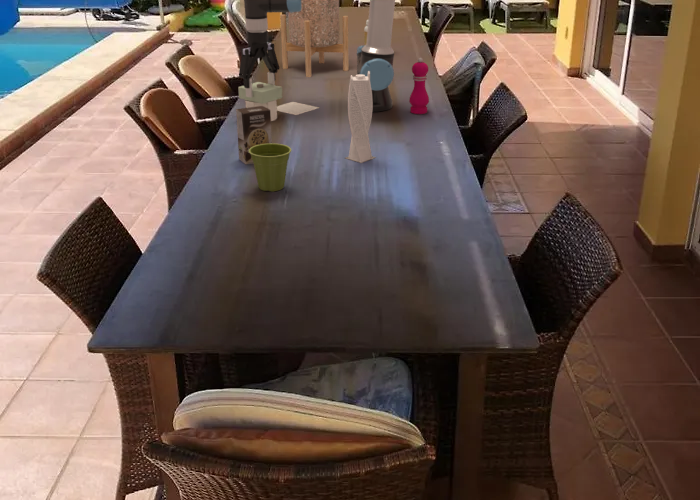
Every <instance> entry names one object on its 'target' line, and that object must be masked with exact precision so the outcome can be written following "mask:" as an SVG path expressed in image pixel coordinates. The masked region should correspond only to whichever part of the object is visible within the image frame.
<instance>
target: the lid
mask: <svg viewBox="0 0 700 500" xmlns="http://www.w3.org/2000/svg"><path fill="white" fill-rule="evenodd" d="M252 92H253V97H252V98H251V97H246V89H245V87H244V85H241V86H238V99H241V100H249V101H254V102H258V103H262V104H263V103H266V102H270V101H273V100H276V101H277V100H280V99H283V86H279V85H276V84H275V85H271V84H268V83H265V82H261V81H256V82H252Z"/></svg>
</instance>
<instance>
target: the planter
mask: <svg viewBox="0 0 700 500" xmlns="http://www.w3.org/2000/svg"><path fill="white" fill-rule="evenodd" d="M301 8H302V9H301V11H300V12H293V13H291V12H288V28H289V29H288V30H289V42H288V35H287V34H288V33H287V32H288V31H287V15H286V14H280V34H281V35H280V36H281V37H280V40H281V41H280V42H281V61H282V62H281V64H282V69H283V70H288V69H289V57H288V55H289V54H288V52H304V56H305V57H304V59H305V60H304V61H305V77H306V78H311V77H312V56H314V54H316V53H318V63H319V64H325V53H340V54H341V53H342V71H343V72H349V67H350V66H349V62H350V61H349V56H350V55H349V16H348V15H343V16H342V43H339V42H340V0H301Z"/></svg>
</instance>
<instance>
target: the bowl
mask: <svg viewBox="0 0 700 500" xmlns="http://www.w3.org/2000/svg"><path fill="white" fill-rule="evenodd" d="M244 100H245V99H244ZM244 102H245V108H249V107H257V106H264V107H266V108H268V109H269V110H270V115H271V122H274V121H276V120H278V111H277V106H278V104H277V103H278V102H277V100H273V101H270V102H266V103H263V104H262V103H258V102H254V101H249V100H245V101H244Z"/></svg>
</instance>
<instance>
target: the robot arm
mask: <svg viewBox="0 0 700 500" xmlns="http://www.w3.org/2000/svg"><path fill="white" fill-rule="evenodd" d="M395 4H396V0H369V8H368V9H369V10H368V19H367V20H368V31H367V42H366V45H359V46H357V49H356V70H357V71H356V75H359V74H362V75H365V76H368V71H370V83H371V90H372V101H373V109H372V113H373V112H375V113H376V112H377V113H378V112H384V111H388V110H390V109H392V108H393V99H392V96H391V92H390V89H389V86H390V85H391V83H392V82H393V79H394V76H395V71H394V59H395V51H394V49H393V48H392V46H391V45H392V35H393V24H394V15H395V14H394V13H395ZM243 5H244V6H243V7H244V17H245V30H246V34H245V35H246V42H247V44H248V47H247V48H241V51H240V52H241V58H240V59H241V60H240V65H239V71H238V77H239V78H242V79H243V86H244V87H245V89H246V97H251V98H252V97H253V92H252V83H253V79H252V78H251V75H252V72H253V70H254V67H255V64H256V62H257V61H258V59H260V58H261V59H262V61H263V62H264V64H265V66H266V67H267V70H268V72H267V84H271V85H276V84H275V82H276V74H277V73H278V71H279V70H280V65H279V64H280V63H279V61H278V57H277V54H276V51H275V44H274V43H273V42H272V43H271V42H269V31H268V29H269V25H268V13H289V12H291V13H293V12H300V11H301V9H302V8H301V0H243Z"/></svg>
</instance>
